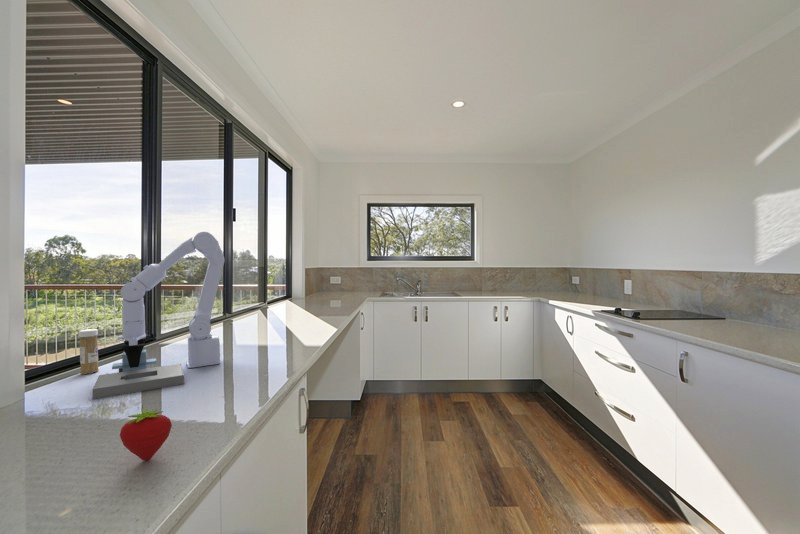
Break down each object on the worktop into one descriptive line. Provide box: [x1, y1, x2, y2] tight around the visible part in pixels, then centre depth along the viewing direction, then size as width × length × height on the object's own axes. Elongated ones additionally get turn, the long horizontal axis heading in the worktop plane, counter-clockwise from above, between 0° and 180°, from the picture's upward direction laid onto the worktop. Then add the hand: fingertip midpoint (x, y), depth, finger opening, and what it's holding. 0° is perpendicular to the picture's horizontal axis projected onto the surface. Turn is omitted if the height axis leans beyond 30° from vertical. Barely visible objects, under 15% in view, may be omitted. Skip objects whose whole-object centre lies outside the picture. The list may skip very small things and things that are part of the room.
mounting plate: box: [92, 363, 185, 399], centre depth 105 cm, size 20×14×2 cm
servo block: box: [111, 349, 157, 372], centre depth 116 cm, size 11×4×7 cm, turn 123°
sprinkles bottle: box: [78, 328, 100, 375], centre depth 117 cm, size 5×5×13 cm
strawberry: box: [119, 404, 173, 462], centre depth 65 cm, size 6×8×10 cm
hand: (134, 364), depth 116 cm, fingers open, 7 cm apart
